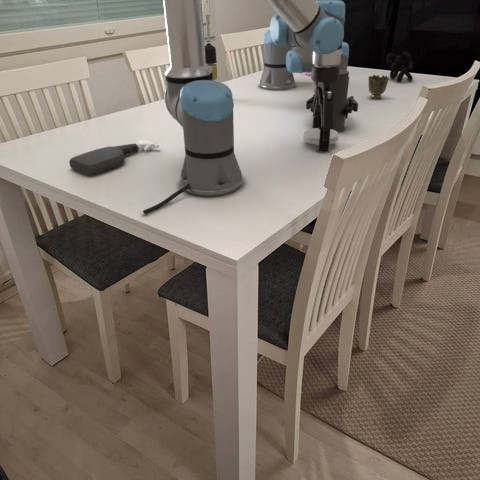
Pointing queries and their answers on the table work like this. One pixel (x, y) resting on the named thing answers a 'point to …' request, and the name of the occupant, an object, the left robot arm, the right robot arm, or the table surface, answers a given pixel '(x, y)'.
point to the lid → (318, 136)
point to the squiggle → (399, 66)
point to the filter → (210, 51)
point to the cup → (377, 85)
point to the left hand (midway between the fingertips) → (319, 144)
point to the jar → (340, 100)
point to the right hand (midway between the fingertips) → (330, 113)
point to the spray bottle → (106, 157)
